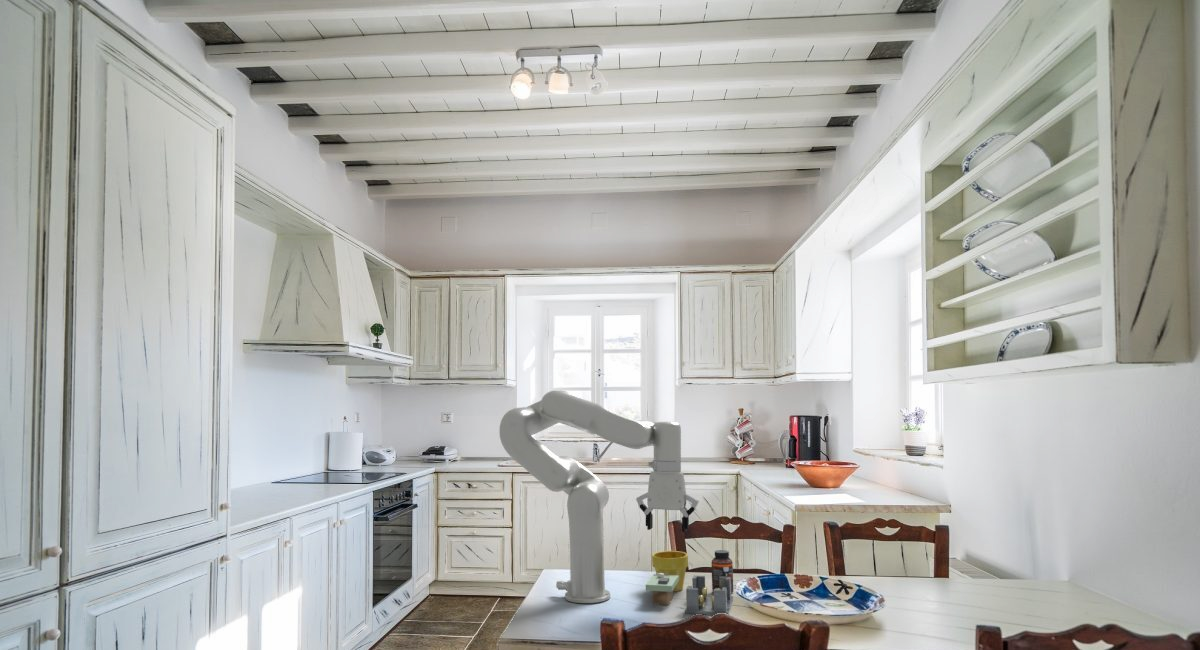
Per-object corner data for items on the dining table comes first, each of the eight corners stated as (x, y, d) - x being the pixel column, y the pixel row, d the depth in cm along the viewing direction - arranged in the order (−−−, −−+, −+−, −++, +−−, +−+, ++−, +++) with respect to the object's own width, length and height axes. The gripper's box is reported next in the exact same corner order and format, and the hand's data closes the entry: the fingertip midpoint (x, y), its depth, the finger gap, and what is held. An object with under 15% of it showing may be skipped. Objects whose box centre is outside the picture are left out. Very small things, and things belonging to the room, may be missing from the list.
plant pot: (650, 592, 217) (649, 557, 218) (655, 583, 227) (655, 550, 228) (686, 594, 215) (685, 558, 215) (690, 585, 225) (689, 551, 225)
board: (645, 590, 204) (645, 580, 204) (654, 579, 215) (653, 570, 215) (671, 591, 202) (671, 582, 202) (678, 580, 213) (678, 571, 214)
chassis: (684, 613, 196) (683, 589, 196) (693, 597, 211) (692, 574, 212) (728, 615, 193) (727, 591, 194) (733, 599, 208) (732, 576, 209)
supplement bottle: (733, 595, 213) (731, 553, 214) (711, 594, 214) (710, 553, 215) (733, 589, 218) (732, 549, 219) (712, 589, 220) (711, 548, 221)
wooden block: (653, 604, 205) (652, 588, 205) (658, 596, 213) (658, 581, 213) (667, 605, 204) (667, 589, 204) (672, 597, 212) (672, 582, 212)
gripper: (633, 466, 210) (632, 530, 209) (695, 469, 205) (695, 534, 203) (640, 464, 217) (640, 526, 216) (700, 466, 212) (700, 530, 210)
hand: (667, 530), depth 209 cm, fingers open, 9 cm apart
